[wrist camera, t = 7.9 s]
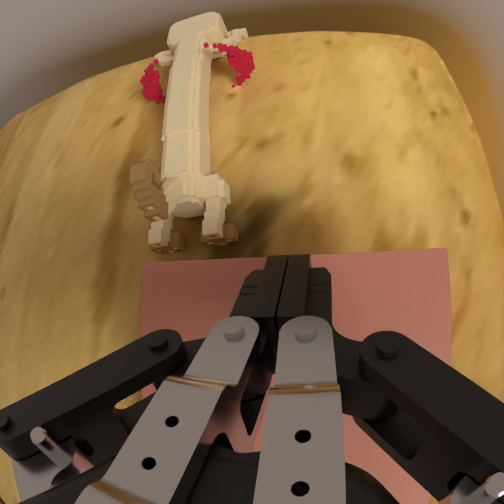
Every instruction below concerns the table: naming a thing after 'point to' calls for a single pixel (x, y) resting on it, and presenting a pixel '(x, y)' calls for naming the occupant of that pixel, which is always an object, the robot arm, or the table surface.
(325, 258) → the flat pink square board
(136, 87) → the table surface
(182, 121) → the cream blocky figure
